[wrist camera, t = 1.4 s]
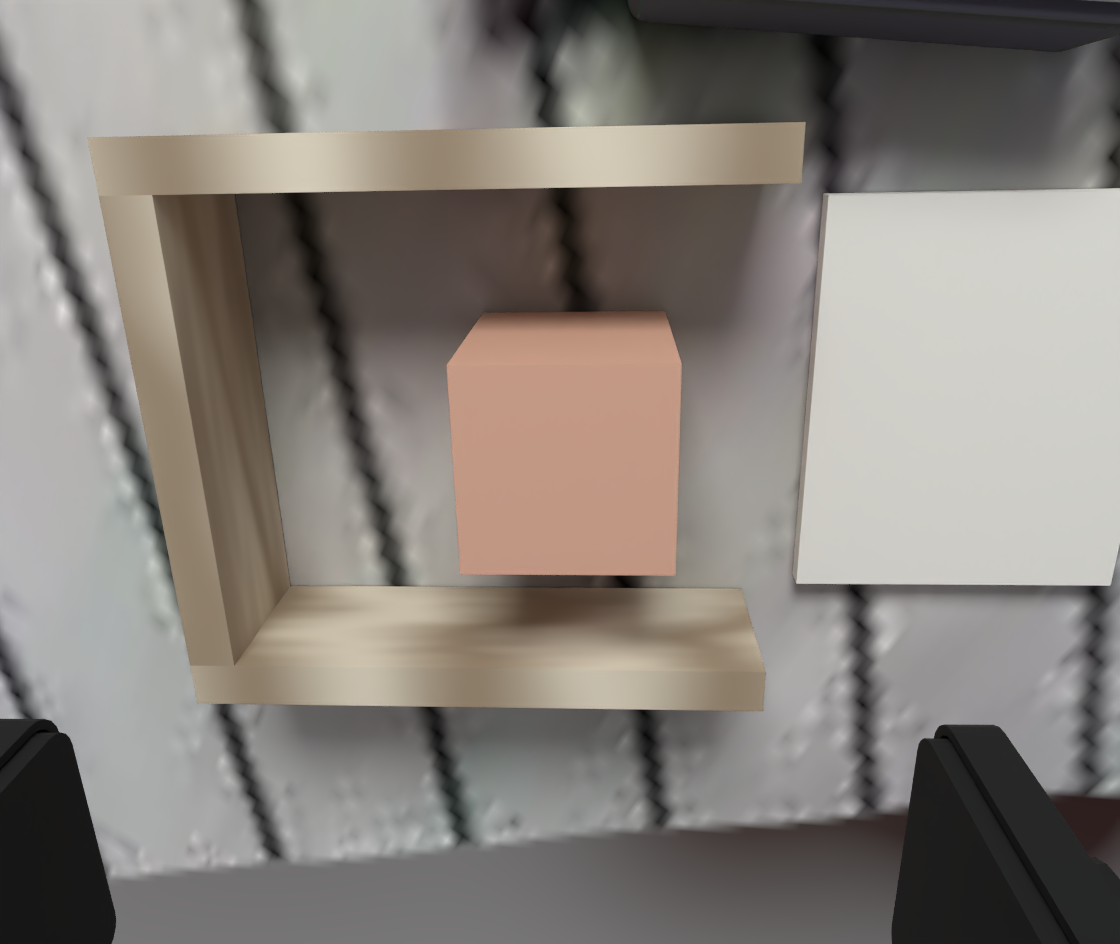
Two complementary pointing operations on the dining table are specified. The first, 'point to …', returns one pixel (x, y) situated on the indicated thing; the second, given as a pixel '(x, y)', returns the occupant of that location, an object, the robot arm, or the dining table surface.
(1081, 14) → the calculator
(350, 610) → the u-shaped frame
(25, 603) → the dining table surface
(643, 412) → the block
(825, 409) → the mat
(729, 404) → the dining table surface
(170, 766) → the dining table surface
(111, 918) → the robot arm
